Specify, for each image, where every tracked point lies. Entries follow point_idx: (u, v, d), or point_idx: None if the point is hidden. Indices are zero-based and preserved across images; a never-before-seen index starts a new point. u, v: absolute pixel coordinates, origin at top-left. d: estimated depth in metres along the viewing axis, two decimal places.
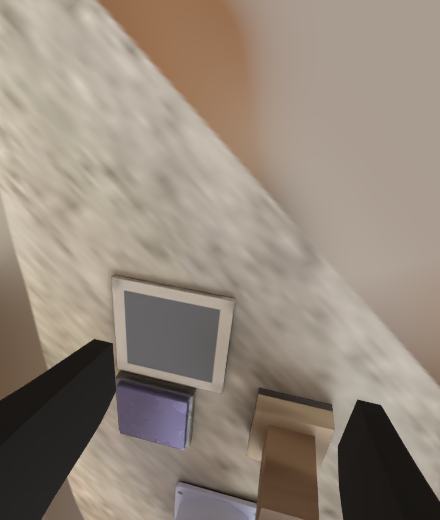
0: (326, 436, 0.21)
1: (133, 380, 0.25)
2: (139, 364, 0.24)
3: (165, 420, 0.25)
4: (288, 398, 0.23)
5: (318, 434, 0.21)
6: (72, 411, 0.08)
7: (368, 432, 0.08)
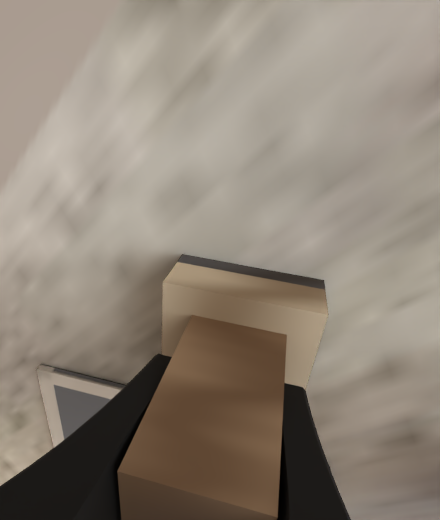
0: (185, 295, 0.10)
1: None
2: None
3: None
4: None
5: (184, 309, 0.11)
6: None
7: None
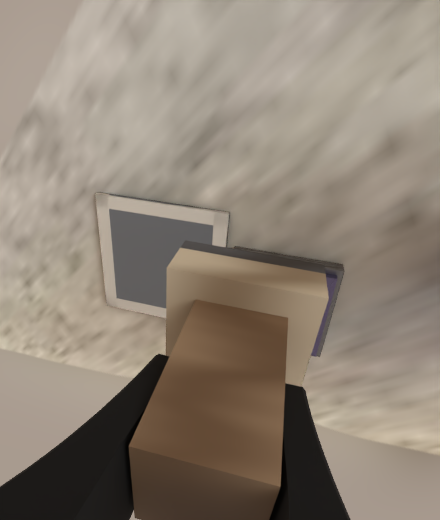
0: (189, 280, 0.11)
1: None
2: None
3: None
4: None
5: (188, 293, 0.11)
6: None
7: None
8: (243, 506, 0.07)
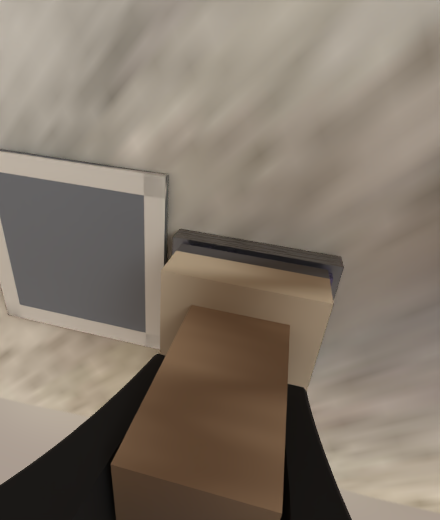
0: (184, 284, 0.10)
1: None
2: (142, 314, 0.15)
3: None
4: None
5: (183, 298, 0.10)
6: None
7: None
8: None
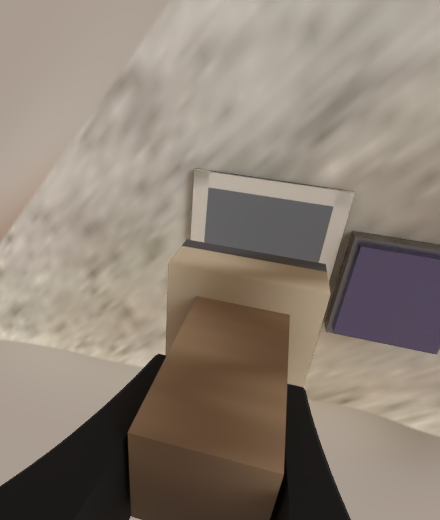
0: (190, 276, 0.11)
1: (331, 310, 0.19)
2: None
3: (402, 283, 0.17)
4: None
5: (189, 290, 0.11)
6: None
7: None
8: (243, 498, 0.07)
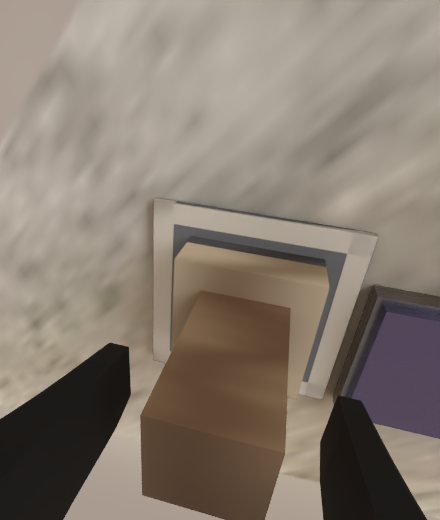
0: (195, 271, 0.11)
1: (342, 385, 0.14)
2: (308, 365, 0.14)
3: None
4: None
5: (194, 284, 0.11)
6: (91, 416, 0.08)
7: (346, 427, 0.08)
8: (248, 476, 0.07)
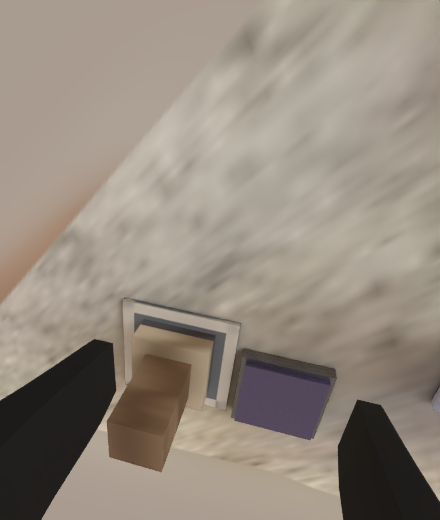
0: (142, 344, 0.21)
1: (234, 402, 0.24)
2: (215, 390, 0.24)
3: (278, 391, 0.22)
4: None
5: (142, 350, 0.21)
6: (72, 411, 0.08)
7: (368, 432, 0.08)
8: (151, 447, 0.17)
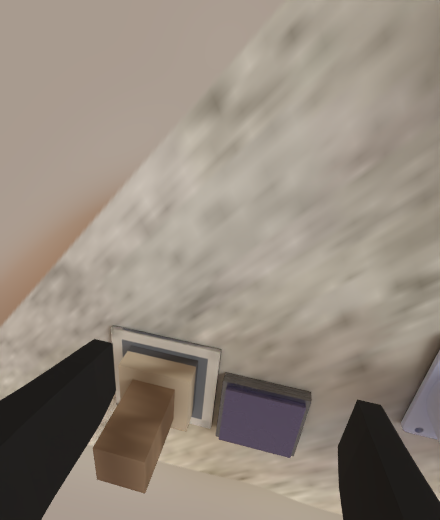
0: (128, 371, 0.22)
1: (218, 422, 0.25)
2: (200, 410, 0.26)
3: (257, 413, 0.23)
4: None
5: (129, 376, 0.23)
6: (72, 411, 0.08)
7: (368, 432, 0.08)
8: (134, 471, 0.18)
